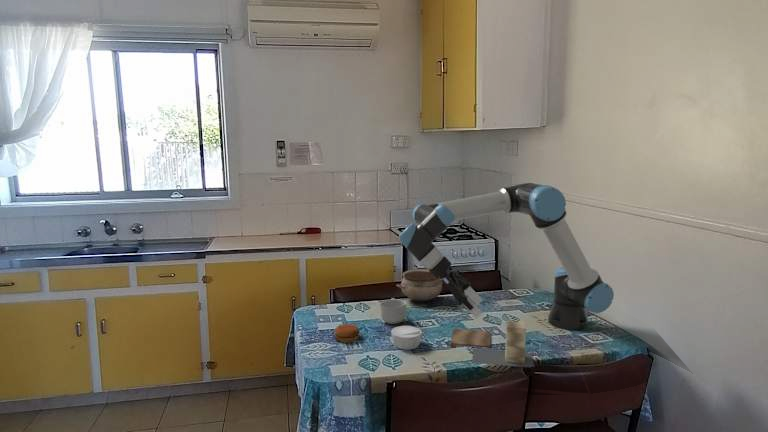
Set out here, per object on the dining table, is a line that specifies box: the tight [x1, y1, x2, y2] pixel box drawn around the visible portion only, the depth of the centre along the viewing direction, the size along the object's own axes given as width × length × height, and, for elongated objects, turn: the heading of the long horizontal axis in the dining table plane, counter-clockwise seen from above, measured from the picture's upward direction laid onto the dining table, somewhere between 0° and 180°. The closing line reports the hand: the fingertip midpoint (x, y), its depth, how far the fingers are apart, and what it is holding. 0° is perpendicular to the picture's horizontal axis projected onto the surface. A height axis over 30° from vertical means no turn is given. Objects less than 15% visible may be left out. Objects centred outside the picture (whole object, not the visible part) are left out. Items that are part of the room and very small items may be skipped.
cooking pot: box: [396, 269, 444, 303], centre depth 239 cm, size 25×19×12 cm
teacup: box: [379, 297, 407, 325], centre depth 214 cm, size 14×11×8 cm
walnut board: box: [450, 328, 491, 348], centre depth 193 cm, size 14×14×2 cm
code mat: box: [471, 348, 535, 368], centre depth 176 cm, size 20×12×1 cm, turn 79°
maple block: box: [504, 320, 527, 363], centre depth 175 cm, size 6×6×12 cm
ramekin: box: [390, 325, 423, 350], centre depth 189 cm, size 11×11×5 cm
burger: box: [333, 323, 360, 344], centre depth 196 cm, size 10×9×5 cm
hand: (479, 308), depth 175 cm, fingers open, 13 cm apart
